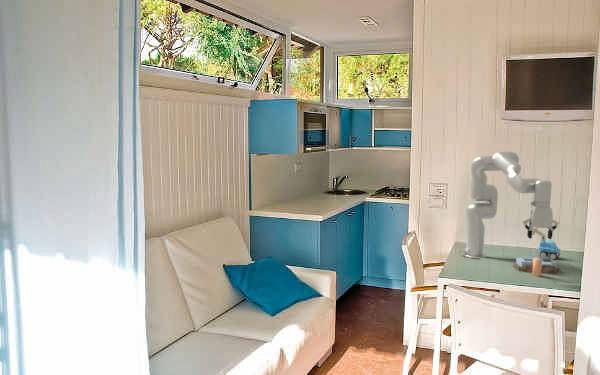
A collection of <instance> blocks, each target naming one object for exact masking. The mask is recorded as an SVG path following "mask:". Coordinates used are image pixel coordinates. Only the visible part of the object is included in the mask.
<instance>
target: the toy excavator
mask: <svg viewBox="0 0 600 375" xmlns="http://www.w3.org/2000/svg"><path fill="white" fill-rule="evenodd" d="M531 231H532V236H534V235H535V234H537V235H539V236H540V243H539V246H538V251H540V252H539V257H540V256H547V257H549V258H551V259H552V260H553V261H555V260H556V259H557V258H559V257H560V254H561V248H559V247H558V246H557V243H556V241H554V240H552V239H546V238H547V237H546V234H545V232H544V231H541V230H540V229H539V228H535V227H534V228H533V229H532V230H531Z"/></svg>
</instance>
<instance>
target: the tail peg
mask: <svg viewBox="0 0 600 375" xmlns="http://www.w3.org/2000/svg"><path fill="white" fill-rule="evenodd" d="M541 267H542V259H539V258H534V259H533V272H532V273H531V275H532V276H533V277H537V278H539V277H541V276H542V273H541Z"/></svg>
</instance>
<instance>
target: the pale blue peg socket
mask: <svg viewBox="0 0 600 375" xmlns="http://www.w3.org/2000/svg"><path fill="white" fill-rule="evenodd" d="M534 258H539V259H542V266H552V267H556V270H557V267H558V262H556V261H555V260H552V259H551V258H549V257H547V256H540V255H539V257H538V256H532V257H531V258H530V257H516V260H515V261H516V262H515V263H516V264H517V265H518V266H520V267H521V271H523V268H524V266H533V259H534Z"/></svg>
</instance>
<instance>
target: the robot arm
mask: <svg viewBox="0 0 600 375" xmlns="http://www.w3.org/2000/svg"><path fill="white" fill-rule="evenodd" d="M519 162H520V157H519V155H518V154H517V153H516V152H513V151H498V152H496V153H494V154H493V155H482V156H478V157H475V158H474V159H473V160H472V161H471V165H470V173H471V179H470V180H471V183H470V198H471V200H473V201H475V202H476V203H471V204H469V205H468V206H467V209H466V217H467V233H466V247H464V248H458V249H457V252H458V253H461V254H463V256H464V257H465V258H469V259H475V260H476V259H479V260H480V259H485V258H487V256H486V254H485V253H484V247H485V230H486V229H485V228H486V227H485V224H484V221H483V220H492V219H494V218H495V217H496V215H497V211H498V200H499V199H498V197H499V192H498V189H497V187H496V186H495V185H493V184H487V183H488V177H487V174H486V172H499V171H501V172H503V174H505V175H506V180H507V183H508V185H509V186H510V187H511V188H512V189H513V190H514V191H516V192H517V193H520V194H534V195H533V201H532V202H530V205H531V207H532V208H531V209H530V214H529V218H528V219H524V220H523V221H522V224H523V226H524V227H525V229H526V230H527V238H529V239H530V240H531V239H532V238H533V237H532V236H533V235H532V231H531V230H532V229H533V228H534V227H535V228H537V229H548V230H547V239H548V240H552V238H553V232H554V231H555V230H556V229H557V228H558V226H559V222H558V221H556V220H554V217H553V216H554V215H553V209H552V207H551V198H552V186H553V185H552V184H553V183H552V181H550V180H546V179H540V178H522V177H521V176H520V173H521V171H522V165H520V164H519ZM528 224H529V225H528Z"/></svg>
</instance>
